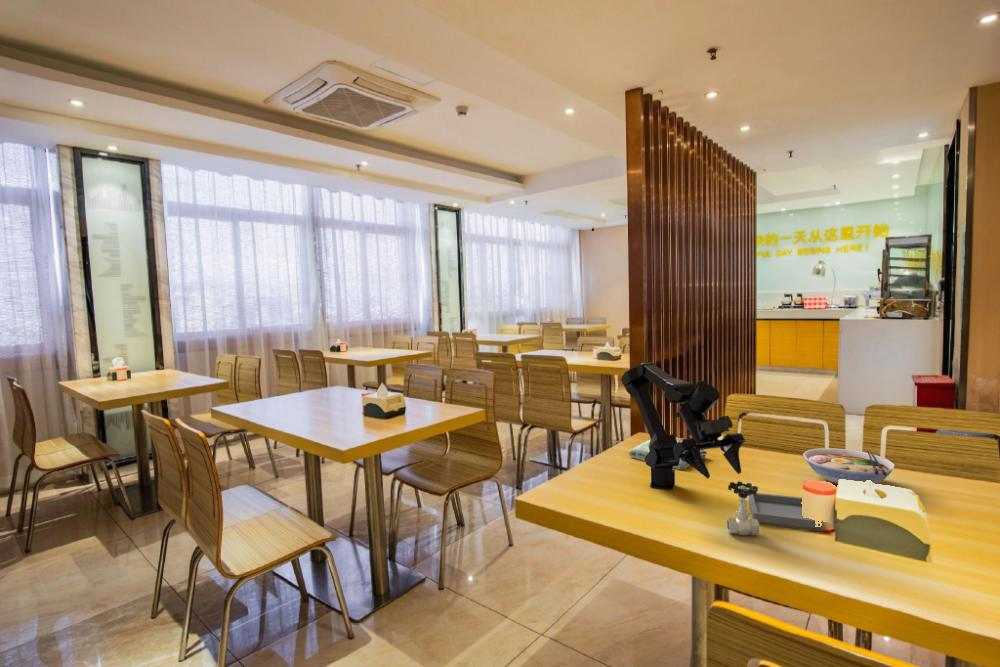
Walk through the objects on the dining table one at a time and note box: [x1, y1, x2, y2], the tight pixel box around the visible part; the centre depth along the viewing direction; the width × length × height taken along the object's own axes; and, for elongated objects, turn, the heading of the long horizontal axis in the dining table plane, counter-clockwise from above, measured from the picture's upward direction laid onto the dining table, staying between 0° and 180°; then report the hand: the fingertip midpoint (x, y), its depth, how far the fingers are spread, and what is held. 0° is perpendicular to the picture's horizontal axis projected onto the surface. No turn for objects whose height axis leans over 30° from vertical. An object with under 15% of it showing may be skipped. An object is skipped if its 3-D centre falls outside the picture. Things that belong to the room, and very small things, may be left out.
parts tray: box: [747, 492, 824, 532], centre depth 133 cm, size 15×15×2 cm
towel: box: [628, 439, 708, 470], centre depth 182 cm, size 18×21×5 cm
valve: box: [725, 480, 760, 536], centre depth 122 cm, size 7×7×12 cm
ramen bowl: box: [802, 447, 896, 485], centre depth 153 cm, size 25×23×8 cm
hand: (724, 475), depth 128 cm, fingers open, 9 cm apart
